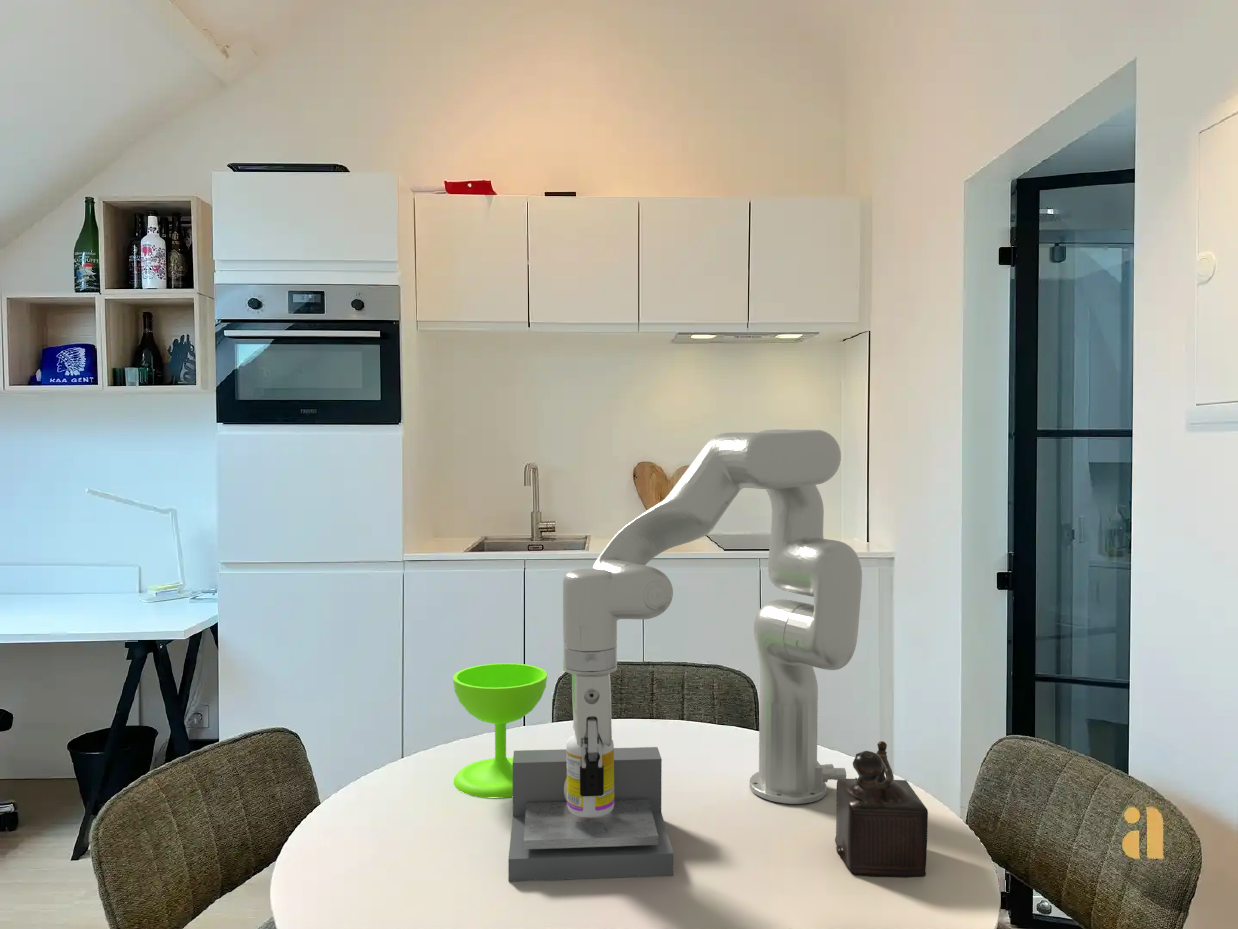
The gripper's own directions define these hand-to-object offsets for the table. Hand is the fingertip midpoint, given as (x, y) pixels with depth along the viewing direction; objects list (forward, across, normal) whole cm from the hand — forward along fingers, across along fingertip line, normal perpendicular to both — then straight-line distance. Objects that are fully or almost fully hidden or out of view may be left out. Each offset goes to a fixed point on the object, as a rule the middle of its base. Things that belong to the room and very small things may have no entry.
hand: (590, 783), depth 124 cm
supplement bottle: (+4, 0, 0) cm, 4 cm away
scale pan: (+6, 0, 0) cm, 6 cm away
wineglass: (+10, +28, +14) cm, 33 cm away
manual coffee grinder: (+11, -6, -40) cm, 42 cm away
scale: (+10, +2, 0) cm, 10 cm away
